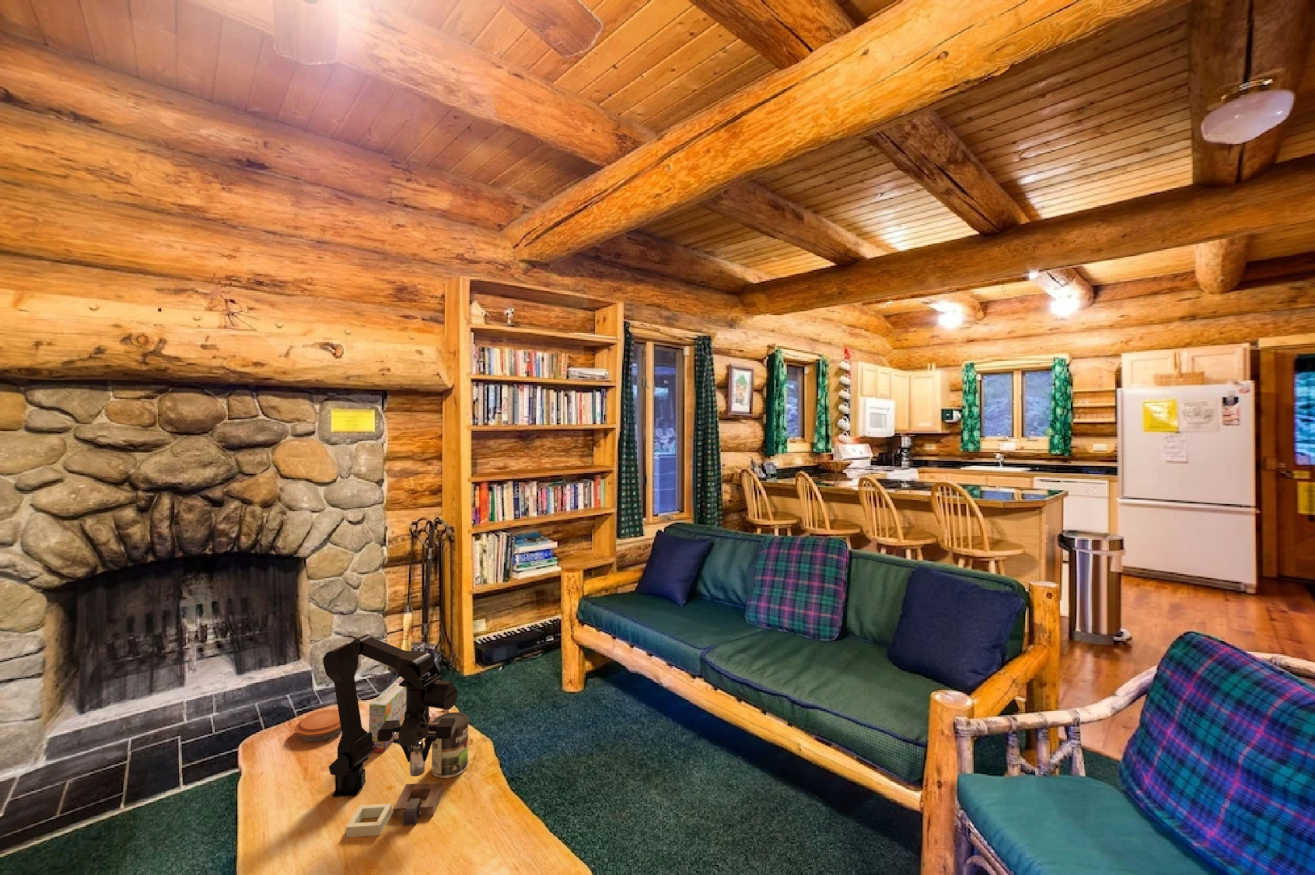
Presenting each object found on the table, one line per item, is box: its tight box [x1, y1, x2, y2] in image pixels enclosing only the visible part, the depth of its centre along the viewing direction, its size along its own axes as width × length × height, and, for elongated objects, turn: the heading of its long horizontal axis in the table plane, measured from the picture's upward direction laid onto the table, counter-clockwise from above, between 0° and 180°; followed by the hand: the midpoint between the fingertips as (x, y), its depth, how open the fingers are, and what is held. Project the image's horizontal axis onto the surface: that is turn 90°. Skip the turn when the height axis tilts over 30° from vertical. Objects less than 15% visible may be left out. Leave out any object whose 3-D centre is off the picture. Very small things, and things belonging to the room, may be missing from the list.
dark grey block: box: [402, 798, 422, 826], centre depth 147 cm, size 3×5×4 cm, turn 6°
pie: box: [294, 708, 342, 743], centre depth 186 cm, size 15×16×5 cm
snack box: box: [368, 676, 406, 753], centre depth 186 cm, size 21×6×15 cm, turn 179°
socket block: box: [392, 781, 445, 819], centre depth 152 cm, size 10×10×2 cm
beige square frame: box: [345, 803, 393, 838], centre depth 144 cm, size 8×8×2 cm
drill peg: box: [409, 739, 426, 777], centre depth 152 cm, size 4×4×8 cm
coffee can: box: [431, 711, 470, 779], centre depth 168 cm, size 10×10×14 cm
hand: (417, 761), depth 152 cm, fingers closed on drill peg, 4 cm apart
